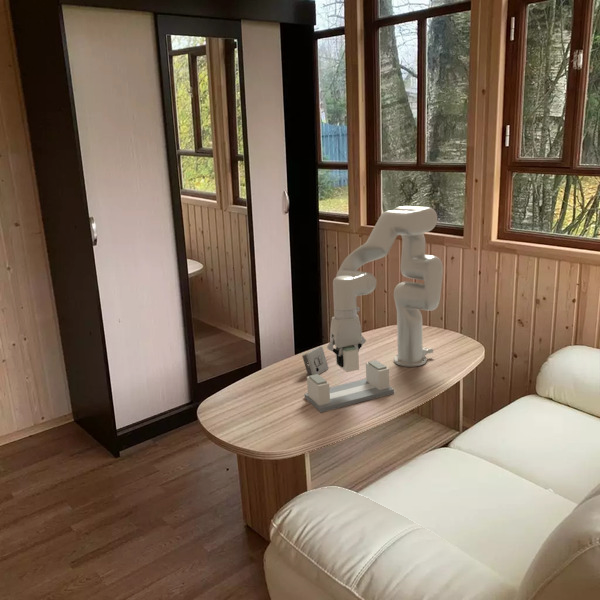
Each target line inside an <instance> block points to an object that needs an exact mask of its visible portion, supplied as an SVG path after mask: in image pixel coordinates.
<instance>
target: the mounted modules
mask: <svg viewBox="0 0 600 600" xmlns="http://www.w3.org/2000/svg"><path fill="white" fill-rule="evenodd" d="M365 375H366V377H365V379H366V381H367V382H368V383H370V384H372V385H373V386H374V387H376V388H377V389H379V390H382V389H386V388H389V386H390V368H388V367H387V365H385V364H383V363H381V362H379V361H378V360H377V359H376V360H375V359H374V360H371V361H368V362H365ZM306 383H307V393H308V396H309V397H310V398H311V399H313V400H314V401H315V402H316V403H317V404H318V405H319V406H320V405H324V404H328V403H330V390H329V388H330V383H329V382H328V381H327V380H326V379H324V377H323V376H321V375H320V374H319V375H318V374H315V375H307V376H306Z"/></svg>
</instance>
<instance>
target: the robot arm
mask: <svg viewBox="0 0 600 600" xmlns="http://www.w3.org/2000/svg"><path fill="white" fill-rule="evenodd" d="M376 221H377V222H376V223H375V225H374V227H373V228H372V230H371V232H370V233H369V236H368V238H367V240H366V242H365V243H363V244H362V245H360V246H358V247H357V248H356V249H354V250H353V251H352V252H350V254H348V255H347V256H346V257H345V258H344V260H343V261H342V262H341V265H340V267H339V268H338V271H337V272H336V276H335V277H334V278H333V281H332V290H333V291H332V294H333V296H332V297H333V315H334V316H332V317H331V322H330V328H329V329H330V331H329V332H330V333H329V340H330V341H329V343H328V344H327V346H326V348H327V350H329V351H331V352H333V353H334V354H335V356H336V355H337V364H338V365H339V366H341V367H343V366H344V364H343V356H342V350H343V347H347V346H353V347H355V348H356V349H358V353H359V352H360V349H361V348H362V346H363V345H364V344H365V343H366V342H367V340H366V338H365V337H364V336H363V335H362V326H361V321H360V317H359V315H358V312H361V308H360V307H359V306H357V297H359V296H366V295H370V294H371V293H373V292H374V290H375V289H376V287H377V283H378V281H377V278H376V277H375V275H373V273H371V272H367V271H360V270H358V269H360V267H363V266H364V265H365V264H367V263H370V262H373V261H377V260H380V259H382V258H385V257H386V256H388V255H389V253H390V250H391V249H392V247H393V245H394V243H395V241H396V239H397V237H398V236H401V239H402V240H401V241H402V247H401V257H400V273H401V276H403V277H405V278H407V279H411V280H412V279H413V280H420V281H424V283H420V282H414V281H401V282H400V283H397V284H396V286H395V288H394V290H393V299H394V303H395V309H396V328H397V330H396V332H397V334H396V335H397V337H396V339H397V354H396V355H395V356H393V361H394V364H396V365H398V366H401V367H407V368H408V367H410V368H412V367H413V368H414V367H419V366H423V365H425V364H427V362H428V361H427V357H426V355H428V354H432V353H433V352H434V349H433V347H430V348H427V347H423V315H422V312H421V310H422V311H429V312H430V311H431V312H433V311H434V310H436V309H437V308H438V307H439V304H440V301H441V294H442V285H443V275H444V266H443V262H442V260H441V258H440V257H438V256H436V255H432V254H426V238H425V237H426V236H425V235H424V234H425V233H428V232H431V231H432V230H433V229H435V227H436V225H437V222H438V214H437V212H436V210H435V209H434V208H432V207H430V206H413V205H412V206H411V205H409V206H408V205H403V206H402V205H400V206H396V207H395V208H393V209H391V210H385V211H384V212H383V213H381V214H380V216H379V217H378V219H377V220H376ZM334 345H335V346H336V347H334ZM433 354H434V353H433ZM338 365H337V366H338ZM339 366H338V367H339Z"/></svg>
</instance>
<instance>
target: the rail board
mask: <svg viewBox="0 0 600 600" xmlns="http://www.w3.org/2000/svg"><path fill="white" fill-rule="evenodd" d="M329 390H330V403H328V404H324V405H320V406H319V405H318V404H317V403H316V402H315V401H314V400H313V399H311V398H310V397H309V396H308V392H305V393H304V395H303V396H304V399H305V400H306V401H307V402H308V403H310V404H311V405H312V406H313V407H314V408H315V409H317V410H318V412H320V413H324V412H328V411H331V410H335V409H339V408H343V407H347V406H351V405H356V404H358V403H361V402H362V403H363V402H365V401H370V400H375V399H377V398H381V397H384V396H389V395H393V394H395V389H394V388H393V387H391V386H390V385H389V388H386V389H382V390H379V389H377V388H376V387H374V386H373V385H372V384H370V383H368V382H367V381H366V378H363V379H359V380H354V381H351V382H348V383H342V384H338V385H335V386H329Z"/></svg>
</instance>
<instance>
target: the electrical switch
mask: <svg viewBox="0 0 600 600" xmlns="http://www.w3.org/2000/svg"><path fill="white" fill-rule="evenodd" d="M301 358H302V360H303V364H304V366H305V370H306V374H307V376H311V375H315V374H318V375H320V374H322V373H324V372H326V371H327V370H329V365H328V362H327V361H328V360H327V356H326V354H325V351H324V348H323V346H318V347H316V348H315V349H312V350H311V351H309V352H306V353H304V354H303V355H302V357H301Z"/></svg>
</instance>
